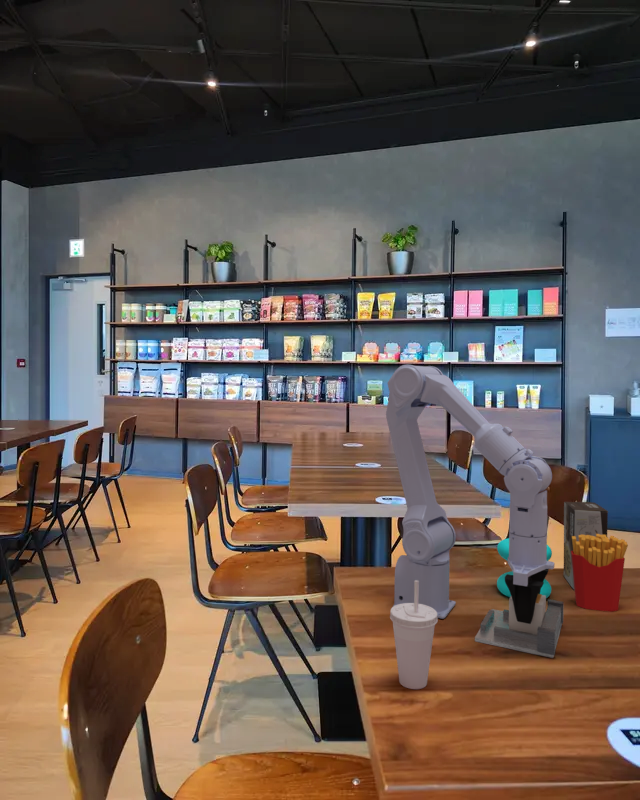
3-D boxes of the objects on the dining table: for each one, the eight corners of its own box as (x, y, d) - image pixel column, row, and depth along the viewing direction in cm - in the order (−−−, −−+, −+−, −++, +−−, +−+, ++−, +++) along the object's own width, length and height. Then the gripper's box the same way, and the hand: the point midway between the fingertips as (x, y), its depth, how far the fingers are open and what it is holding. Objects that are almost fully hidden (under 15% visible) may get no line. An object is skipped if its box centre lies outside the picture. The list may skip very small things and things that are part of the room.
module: (508, 633, 91) (509, 597, 91) (513, 622, 95) (514, 588, 95) (541, 639, 88) (542, 603, 88) (545, 629, 92) (545, 594, 92)
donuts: (560, 550, 104) (505, 549, 105) (559, 604, 105) (504, 603, 105) (541, 536, 114) (491, 535, 115) (540, 585, 115) (490, 584, 115)
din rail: (474, 641, 89) (474, 616, 89) (492, 611, 101) (492, 589, 101) (554, 659, 83) (554, 632, 83) (563, 625, 95) (563, 601, 95)
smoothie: (407, 699, 72) (408, 591, 72) (380, 676, 78) (381, 576, 78) (447, 687, 75) (448, 583, 75) (417, 666, 81) (418, 569, 81)
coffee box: (607, 592, 111) (609, 510, 110) (572, 590, 112) (573, 509, 111) (594, 577, 119) (596, 501, 119) (562, 575, 121) (563, 500, 120)
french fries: (572, 607, 103) (573, 536, 103) (569, 599, 107) (570, 531, 107) (628, 613, 100) (629, 541, 100) (623, 604, 104) (624, 535, 104)
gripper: (549, 547, 83) (547, 639, 83) (559, 526, 96) (557, 605, 96) (499, 541, 86) (498, 629, 87) (515, 521, 99) (514, 598, 99)
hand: (526, 616), depth 91 cm, fingers closed on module, 4 cm apart
